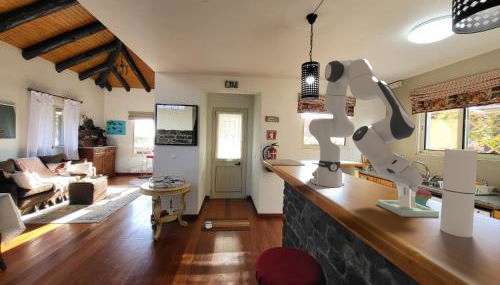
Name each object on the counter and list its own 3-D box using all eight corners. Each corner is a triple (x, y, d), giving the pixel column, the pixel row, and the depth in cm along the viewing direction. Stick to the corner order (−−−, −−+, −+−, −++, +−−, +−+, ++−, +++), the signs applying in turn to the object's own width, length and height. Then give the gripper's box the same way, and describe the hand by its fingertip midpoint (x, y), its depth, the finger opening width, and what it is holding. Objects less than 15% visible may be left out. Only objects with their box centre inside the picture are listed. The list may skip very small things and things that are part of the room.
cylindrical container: (451, 236, 64) (456, 149, 64) (434, 226, 71) (439, 148, 71) (479, 238, 63) (485, 150, 63) (459, 228, 70) (464, 149, 70)
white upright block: (410, 206, 89) (410, 168, 91) (422, 209, 83) (422, 168, 84) (392, 204, 90) (392, 167, 92) (402, 207, 83) (402, 167, 85)
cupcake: (412, 206, 94) (414, 177, 93) (402, 200, 102) (404, 174, 102) (435, 208, 92) (437, 179, 92) (423, 202, 100) (425, 175, 100)
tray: (377, 204, 94) (377, 199, 94) (408, 205, 95) (409, 200, 95) (401, 216, 80) (402, 210, 80) (438, 217, 81) (438, 211, 81)
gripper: (364, 164, 97) (384, 187, 98) (398, 172, 76) (424, 201, 77) (374, 154, 97) (395, 177, 98) (411, 159, 76) (437, 188, 77)
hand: (408, 188), depth 87 cm, fingers closed on white upright block, 6 cm apart
